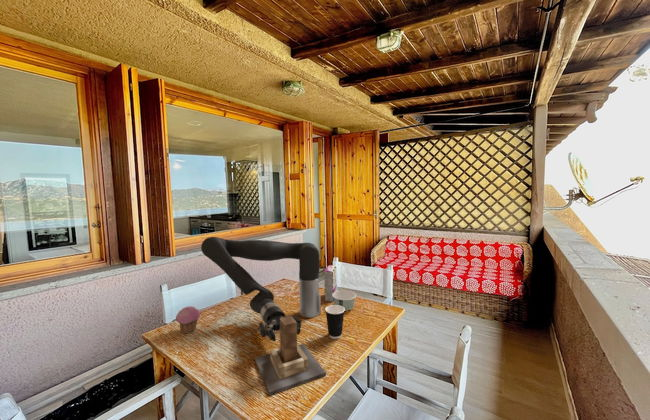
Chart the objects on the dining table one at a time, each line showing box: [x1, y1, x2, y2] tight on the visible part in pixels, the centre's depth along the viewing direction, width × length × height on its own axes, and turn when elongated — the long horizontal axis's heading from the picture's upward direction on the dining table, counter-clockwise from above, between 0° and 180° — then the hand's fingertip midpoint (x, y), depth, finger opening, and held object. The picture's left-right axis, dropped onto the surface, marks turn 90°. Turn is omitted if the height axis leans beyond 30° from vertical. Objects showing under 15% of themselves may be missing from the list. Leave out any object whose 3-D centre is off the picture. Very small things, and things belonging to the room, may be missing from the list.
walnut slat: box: [279, 315, 298, 364], centre depth 88 cm, size 4×5×15 cm
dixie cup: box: [324, 304, 345, 340], centre depth 107 cm, size 8×8×11 cm
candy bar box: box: [323, 264, 338, 303], centre depth 146 cm, size 11×5×16 cm, turn 168°
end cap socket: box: [254, 343, 327, 397], centre depth 88 cm, size 18×18×4 cm
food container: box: [332, 290, 357, 312], centre depth 134 cm, size 12×12×6 cm
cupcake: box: [175, 305, 201, 334], centre depth 112 cm, size 9×9×10 cm
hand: (286, 334), depth 90 cm, fingers open, 8 cm apart
